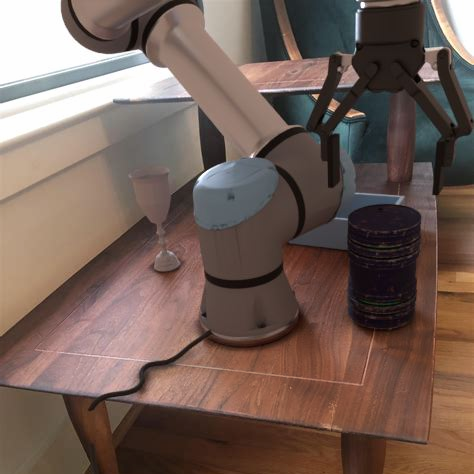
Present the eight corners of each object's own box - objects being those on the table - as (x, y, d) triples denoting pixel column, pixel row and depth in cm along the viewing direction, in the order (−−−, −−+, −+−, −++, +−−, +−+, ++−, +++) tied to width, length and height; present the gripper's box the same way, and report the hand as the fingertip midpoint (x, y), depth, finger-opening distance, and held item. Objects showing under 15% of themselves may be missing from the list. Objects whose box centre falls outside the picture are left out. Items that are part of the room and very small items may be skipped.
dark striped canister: (422, 327, 77) (430, 228, 69) (351, 331, 78) (351, 234, 70) (407, 292, 85) (413, 200, 77) (343, 296, 86) (343, 206, 78)
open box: (384, 254, 98) (385, 223, 95) (289, 243, 106) (287, 214, 103) (403, 225, 108) (405, 195, 105) (315, 216, 116) (314, 189, 113)
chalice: (192, 259, 105) (176, 166, 96) (174, 275, 100) (156, 179, 91) (160, 255, 108) (142, 165, 99) (141, 271, 103) (120, 178, 94)
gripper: (518, -12, 57) (490, 184, 69) (299, 8, 69) (305, 173, 80) (510, -6, 52) (481, 206, 63) (273, 14, 63) (284, 191, 74)
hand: (383, 188), depth 72 cm, fingers open, 13 cm apart
